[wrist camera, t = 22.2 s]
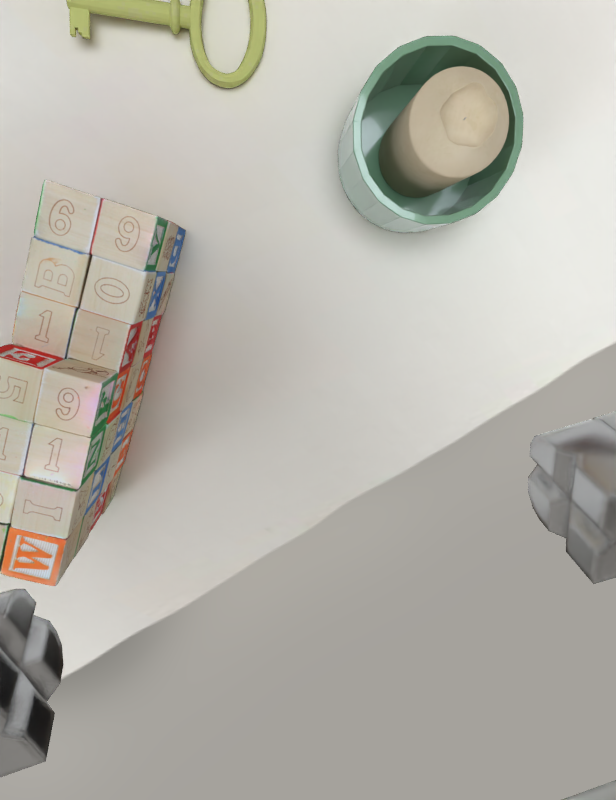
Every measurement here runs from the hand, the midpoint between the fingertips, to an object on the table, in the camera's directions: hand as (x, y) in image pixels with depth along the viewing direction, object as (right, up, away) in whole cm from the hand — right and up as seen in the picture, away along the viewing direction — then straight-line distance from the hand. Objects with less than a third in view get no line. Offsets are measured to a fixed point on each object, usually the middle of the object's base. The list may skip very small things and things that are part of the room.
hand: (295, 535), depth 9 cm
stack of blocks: (-15, +5, +31) cm, 35 cm away
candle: (+8, +19, +29) cm, 35 cm away
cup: (+7, +19, +29) cm, 36 cm away
